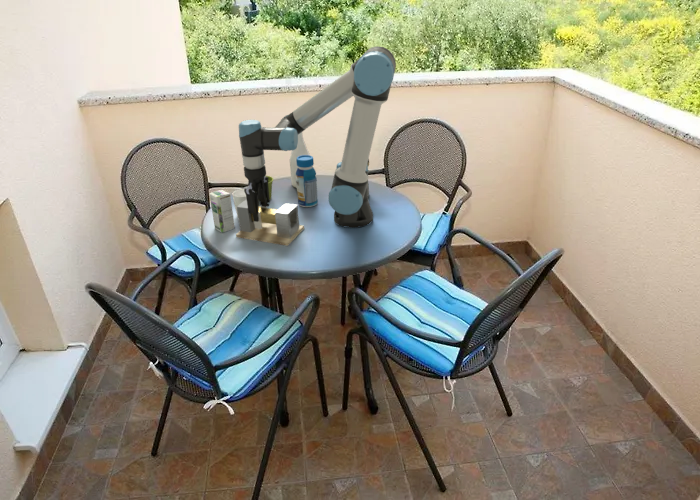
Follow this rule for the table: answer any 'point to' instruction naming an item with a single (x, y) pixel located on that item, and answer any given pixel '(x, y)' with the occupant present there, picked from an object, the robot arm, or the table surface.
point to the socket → (245, 218)
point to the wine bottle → (295, 153)
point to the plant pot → (270, 186)
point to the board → (268, 234)
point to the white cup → (238, 198)
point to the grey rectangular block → (287, 220)
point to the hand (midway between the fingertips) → (261, 225)
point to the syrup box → (222, 210)
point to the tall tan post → (267, 215)
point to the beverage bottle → (306, 181)
